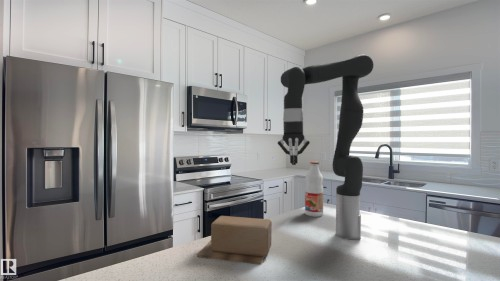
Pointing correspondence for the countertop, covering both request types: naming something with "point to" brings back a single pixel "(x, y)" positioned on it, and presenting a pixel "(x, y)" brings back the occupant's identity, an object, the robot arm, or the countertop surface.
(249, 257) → the cutting board
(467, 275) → the countertop surface
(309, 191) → the fruit juice
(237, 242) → the block
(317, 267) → the countertop surface
